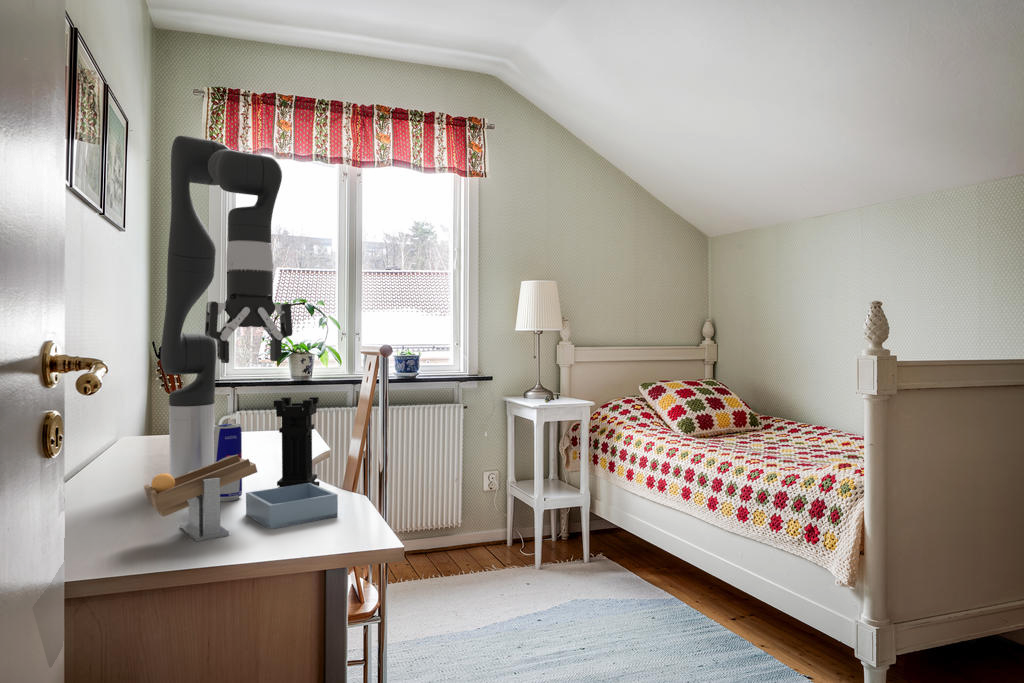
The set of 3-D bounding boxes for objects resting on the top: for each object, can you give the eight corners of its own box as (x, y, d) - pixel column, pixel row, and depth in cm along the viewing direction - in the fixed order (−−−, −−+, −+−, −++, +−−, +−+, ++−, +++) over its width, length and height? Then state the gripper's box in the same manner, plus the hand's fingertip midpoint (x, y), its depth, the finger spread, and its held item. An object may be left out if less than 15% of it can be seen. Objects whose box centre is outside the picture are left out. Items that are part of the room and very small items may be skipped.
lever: (145, 505, 114) (137, 480, 113) (238, 468, 123) (231, 445, 123) (161, 519, 105) (152, 493, 104) (260, 478, 115) (253, 454, 114)
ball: (151, 495, 109) (146, 475, 108) (174, 488, 111) (169, 468, 110) (156, 499, 106) (151, 479, 105) (179, 491, 108) (174, 472, 108)
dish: (246, 514, 122) (245, 492, 122) (310, 503, 130) (309, 482, 130) (270, 529, 113) (270, 505, 113) (337, 516, 121) (337, 494, 121)
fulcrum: (180, 527, 114) (179, 472, 114) (211, 522, 118) (210, 468, 117) (196, 541, 107) (195, 482, 107) (229, 535, 110) (228, 477, 110)
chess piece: (282, 493, 138) (281, 396, 138) (321, 492, 139) (321, 396, 139) (271, 503, 130) (270, 400, 130) (313, 502, 131) (312, 400, 131)
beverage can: (232, 502, 131) (231, 426, 131) (208, 501, 132) (208, 425, 132) (247, 496, 136) (246, 422, 136) (224, 495, 137) (224, 422, 137)
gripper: (281, 272, 124) (281, 359, 125) (200, 267, 115) (200, 362, 115) (298, 270, 118) (298, 361, 119) (213, 265, 109) (214, 364, 110)
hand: (250, 361), depth 117 cm, fingers open, 8 cm apart
